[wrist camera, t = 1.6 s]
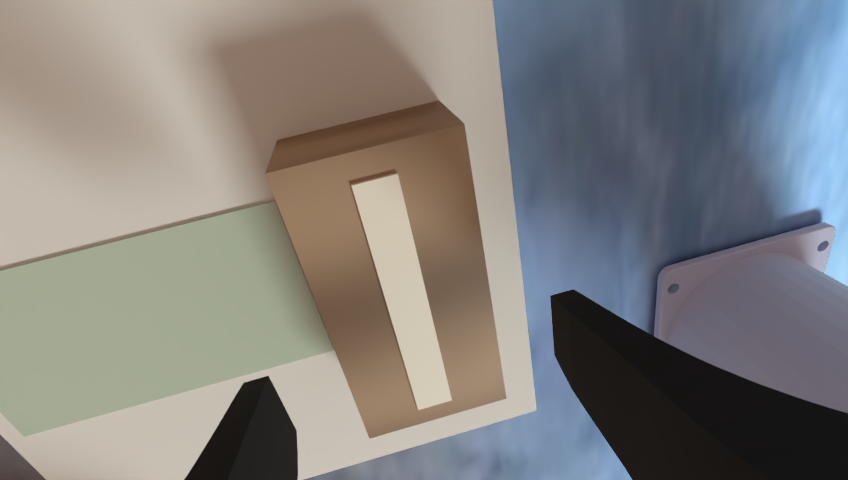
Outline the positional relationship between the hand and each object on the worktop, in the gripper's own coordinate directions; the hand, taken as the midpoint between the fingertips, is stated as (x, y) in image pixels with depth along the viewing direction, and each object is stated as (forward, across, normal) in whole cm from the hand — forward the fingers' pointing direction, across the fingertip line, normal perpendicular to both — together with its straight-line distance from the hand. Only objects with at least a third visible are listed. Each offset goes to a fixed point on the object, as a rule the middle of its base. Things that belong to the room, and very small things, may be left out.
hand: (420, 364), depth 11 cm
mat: (+6, +5, 0) cm, 8 cm away
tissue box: (+5, 0, 0) cm, 5 cm away
